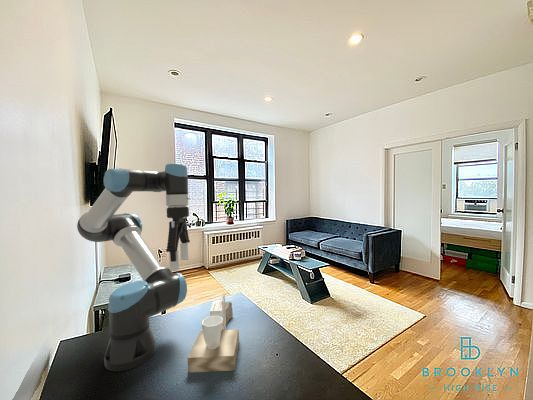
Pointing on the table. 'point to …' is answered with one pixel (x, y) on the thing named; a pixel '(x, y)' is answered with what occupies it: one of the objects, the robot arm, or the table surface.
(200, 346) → the maple block
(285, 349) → the table surface
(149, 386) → the table surface
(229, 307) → the mineral specimen
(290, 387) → the table surface
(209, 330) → the cup
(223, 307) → the ink cartridge box
